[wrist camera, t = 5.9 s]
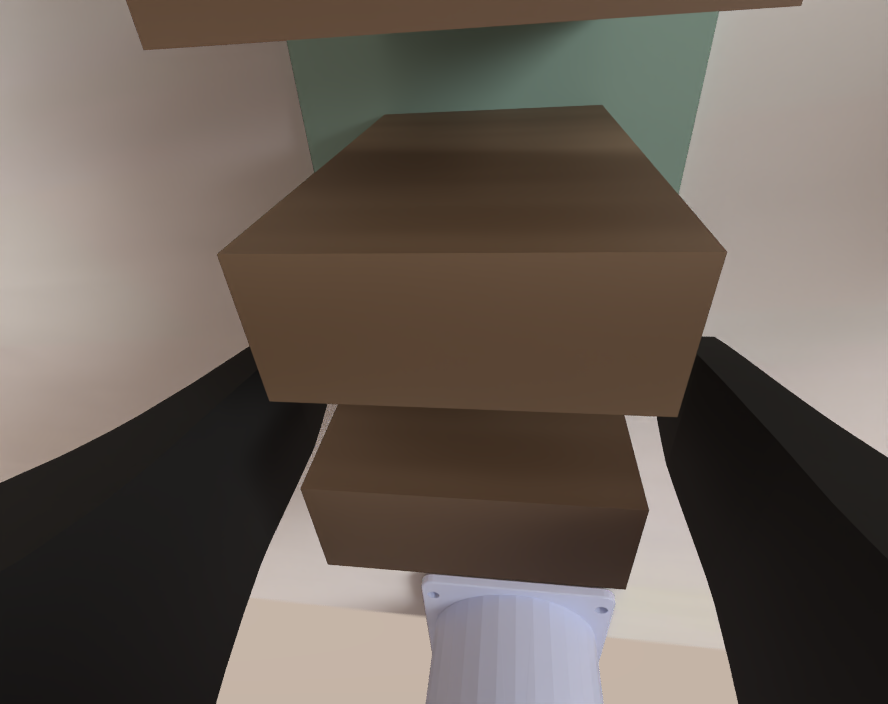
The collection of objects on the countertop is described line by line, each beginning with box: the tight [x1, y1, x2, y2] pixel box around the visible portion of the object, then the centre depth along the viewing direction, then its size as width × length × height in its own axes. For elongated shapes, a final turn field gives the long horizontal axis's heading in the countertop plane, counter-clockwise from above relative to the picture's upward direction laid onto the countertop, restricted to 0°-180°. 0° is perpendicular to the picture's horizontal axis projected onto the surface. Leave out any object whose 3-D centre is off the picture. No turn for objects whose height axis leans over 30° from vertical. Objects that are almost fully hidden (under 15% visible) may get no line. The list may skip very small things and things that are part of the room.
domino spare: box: [301, 404, 649, 590], centre depth 9 cm, size 2×4×7 cm, turn 93°
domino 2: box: [217, 105, 727, 417], centre depth 7 cm, size 2×4×7 cm, turn 93°
